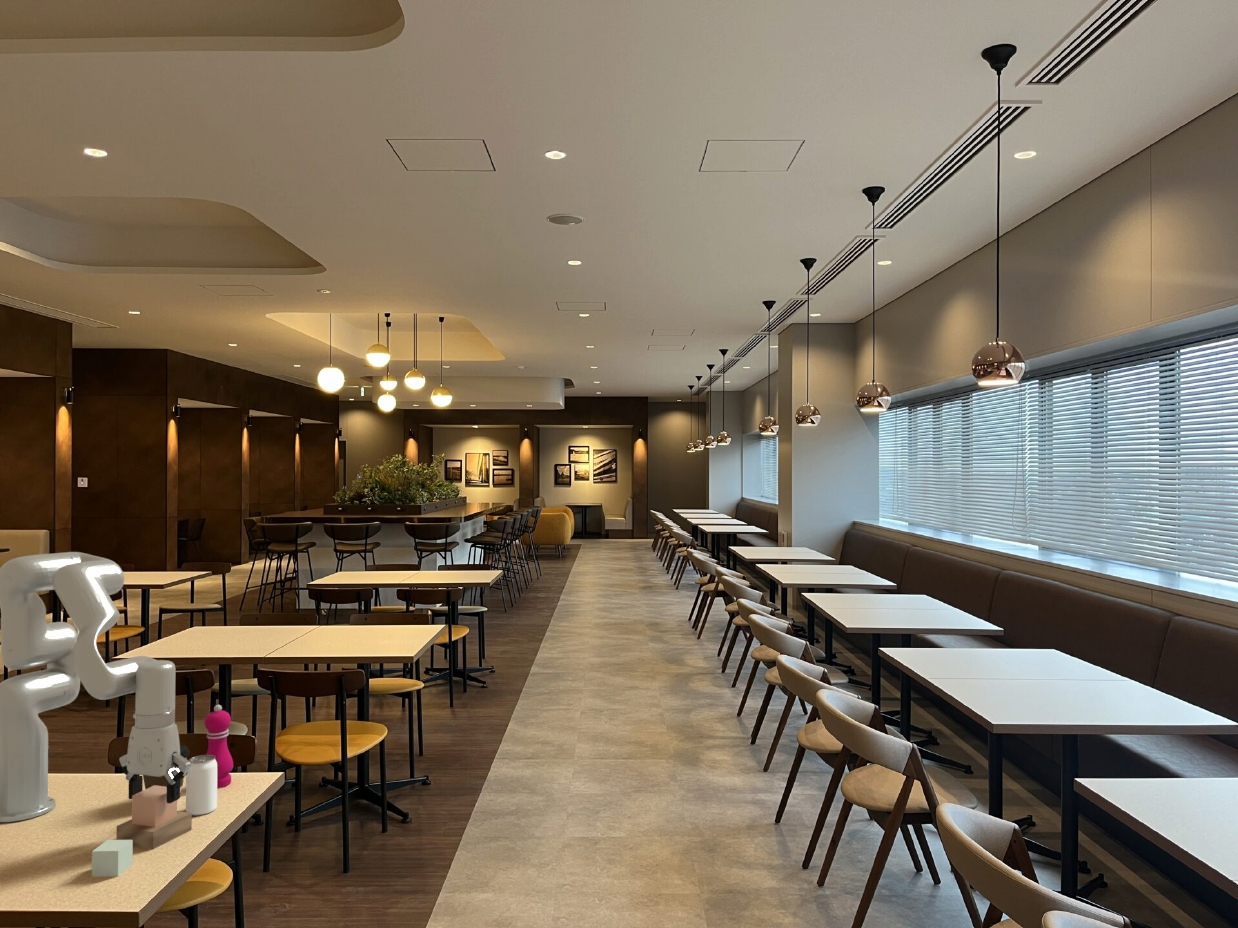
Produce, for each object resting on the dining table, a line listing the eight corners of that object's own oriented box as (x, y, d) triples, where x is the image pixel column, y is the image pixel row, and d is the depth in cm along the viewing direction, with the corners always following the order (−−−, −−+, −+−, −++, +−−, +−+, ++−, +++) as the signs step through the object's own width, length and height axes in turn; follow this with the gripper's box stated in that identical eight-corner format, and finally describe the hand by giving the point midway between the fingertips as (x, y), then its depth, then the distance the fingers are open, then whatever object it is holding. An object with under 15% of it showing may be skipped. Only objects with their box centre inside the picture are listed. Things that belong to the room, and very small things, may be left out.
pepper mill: (214, 778, 212) (215, 700, 212) (239, 780, 211) (239, 701, 211) (194, 788, 205) (195, 707, 205) (220, 790, 204) (220, 709, 204)
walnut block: (116, 844, 175) (116, 825, 175) (156, 825, 184) (156, 807, 184) (153, 851, 171) (153, 831, 172) (191, 831, 181) (191, 813, 181)
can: (204, 817, 188) (204, 764, 188) (179, 814, 189) (179, 762, 189) (223, 806, 194) (223, 754, 194) (199, 804, 195) (199, 753, 195)
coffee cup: (194, 801, 197) (195, 751, 197) (142, 813, 190) (143, 761, 190) (183, 788, 205) (184, 740, 205) (133, 799, 198) (134, 749, 198)
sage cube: (91, 877, 160) (92, 851, 160) (107, 865, 165) (107, 839, 165) (118, 876, 160) (118, 850, 160) (132, 864, 165) (132, 839, 165)
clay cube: (131, 823, 176) (132, 795, 176) (154, 812, 181) (154, 785, 181) (155, 826, 174) (155, 798, 174) (176, 815, 180) (177, 787, 180)
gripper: (107, 721, 177) (106, 801, 176) (176, 727, 173) (175, 809, 172) (135, 711, 184) (134, 788, 184) (202, 717, 180) (201, 795, 180)
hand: (154, 798), depth 178 cm, fingers open, 9 cm apart
